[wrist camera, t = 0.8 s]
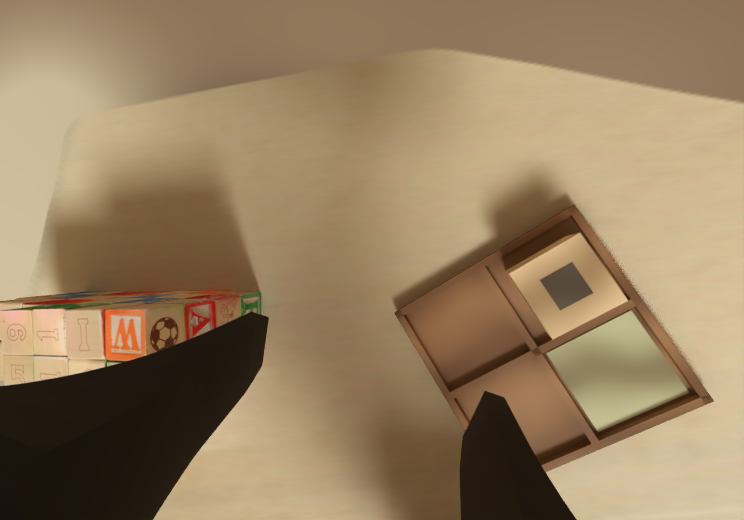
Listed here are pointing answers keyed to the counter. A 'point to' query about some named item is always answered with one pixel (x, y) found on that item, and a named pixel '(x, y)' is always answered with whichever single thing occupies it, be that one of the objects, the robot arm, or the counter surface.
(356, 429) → the counter surface
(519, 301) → the tray
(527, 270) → the light wooden block
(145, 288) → the counter surface
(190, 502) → the counter surface
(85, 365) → the stack of blocks
